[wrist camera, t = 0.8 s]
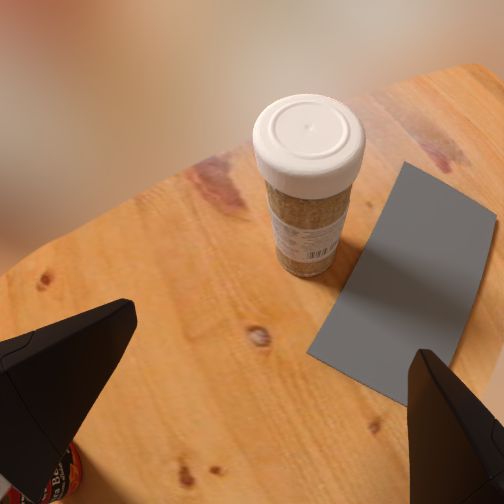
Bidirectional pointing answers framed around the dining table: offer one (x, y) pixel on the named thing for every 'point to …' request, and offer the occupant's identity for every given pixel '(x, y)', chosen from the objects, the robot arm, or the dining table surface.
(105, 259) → the dining table surface
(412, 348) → the charcoal mat
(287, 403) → the dining table surface
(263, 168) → the spice jar
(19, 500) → the canned food
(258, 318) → the dining table surface
